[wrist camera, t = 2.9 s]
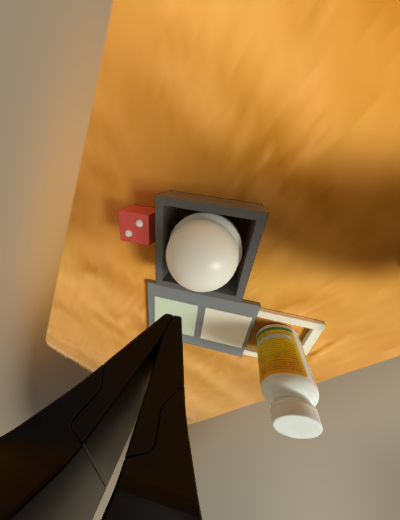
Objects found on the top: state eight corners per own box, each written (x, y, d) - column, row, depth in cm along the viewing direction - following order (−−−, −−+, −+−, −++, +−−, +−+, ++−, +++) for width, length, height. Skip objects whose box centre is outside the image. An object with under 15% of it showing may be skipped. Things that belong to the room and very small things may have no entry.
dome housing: (262, 204, 16) (268, 212, 13) (240, 281, 21) (241, 303, 17) (133, 184, 18) (109, 187, 14) (137, 261, 22) (120, 277, 19)
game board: (326, 317, 21) (329, 321, 20) (295, 366, 25) (296, 371, 25) (149, 279, 23) (147, 282, 22) (150, 330, 28) (148, 334, 27)
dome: (249, 215, 16) (255, 238, 11) (233, 276, 20) (232, 319, 14) (177, 203, 17) (148, 219, 11) (174, 264, 20) (150, 300, 15)
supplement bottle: (306, 339, 23) (348, 437, 14) (273, 354, 25) (292, 447, 17) (278, 315, 22) (304, 405, 13) (246, 334, 24) (252, 420, 16)
